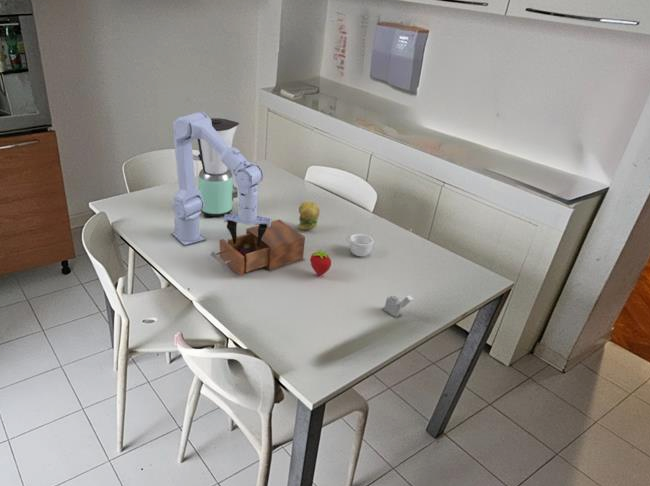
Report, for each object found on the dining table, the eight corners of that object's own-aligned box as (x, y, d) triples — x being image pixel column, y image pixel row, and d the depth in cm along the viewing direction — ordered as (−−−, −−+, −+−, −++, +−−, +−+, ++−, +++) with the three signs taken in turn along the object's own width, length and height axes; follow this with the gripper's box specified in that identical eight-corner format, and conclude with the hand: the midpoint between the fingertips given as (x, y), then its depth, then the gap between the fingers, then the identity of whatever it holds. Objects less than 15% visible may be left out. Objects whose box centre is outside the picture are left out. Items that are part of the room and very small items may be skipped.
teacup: (375, 254, 178) (378, 240, 175) (360, 261, 174) (363, 247, 171) (353, 242, 184) (355, 229, 182) (338, 249, 180) (340, 235, 178)
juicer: (233, 202, 210) (235, 114, 191) (240, 217, 199) (243, 125, 180) (186, 205, 206) (183, 116, 187) (191, 221, 195) (188, 128, 176)
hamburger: (310, 223, 196) (314, 194, 189) (321, 232, 190) (325, 202, 184) (293, 227, 193) (295, 197, 186) (303, 236, 187) (306, 206, 181)
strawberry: (318, 284, 162) (321, 256, 157) (304, 272, 167) (307, 245, 162) (333, 279, 164) (337, 251, 159) (319, 267, 170) (322, 241, 165)
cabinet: (269, 270, 168) (270, 247, 163) (245, 251, 178) (246, 228, 173) (302, 259, 174) (305, 236, 170) (278, 241, 184) (279, 219, 179)
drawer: (227, 280, 161) (227, 262, 157) (206, 261, 170) (206, 243, 166) (273, 265, 169) (274, 247, 165) (251, 248, 178) (252, 230, 174)
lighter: (383, 309, 152) (388, 287, 147) (387, 307, 153) (392, 285, 148) (404, 322, 147) (410, 298, 143) (407, 319, 148) (413, 296, 144)
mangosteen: (237, 256, 171) (238, 243, 168) (250, 254, 172) (250, 241, 170) (242, 263, 167) (242, 250, 165) (254, 261, 169) (255, 248, 166)
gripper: (273, 201, 162) (270, 240, 169) (227, 197, 164) (226, 235, 171) (270, 211, 156) (268, 250, 163) (222, 206, 158) (222, 245, 165)
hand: (246, 243), depth 167 cm, fingers open, 7 cm apart
